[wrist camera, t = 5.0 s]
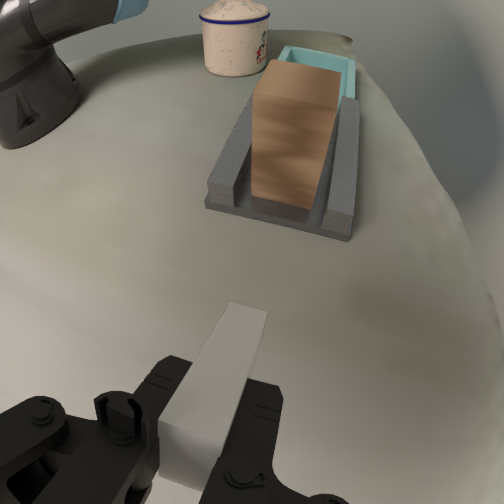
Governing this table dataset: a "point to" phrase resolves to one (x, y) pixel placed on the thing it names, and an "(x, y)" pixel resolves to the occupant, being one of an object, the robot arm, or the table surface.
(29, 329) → the table surface
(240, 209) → the slot board
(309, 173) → the block
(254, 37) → the teacup with lid
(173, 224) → the table surface
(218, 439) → the robot arm
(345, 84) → the tray
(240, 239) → the table surface
